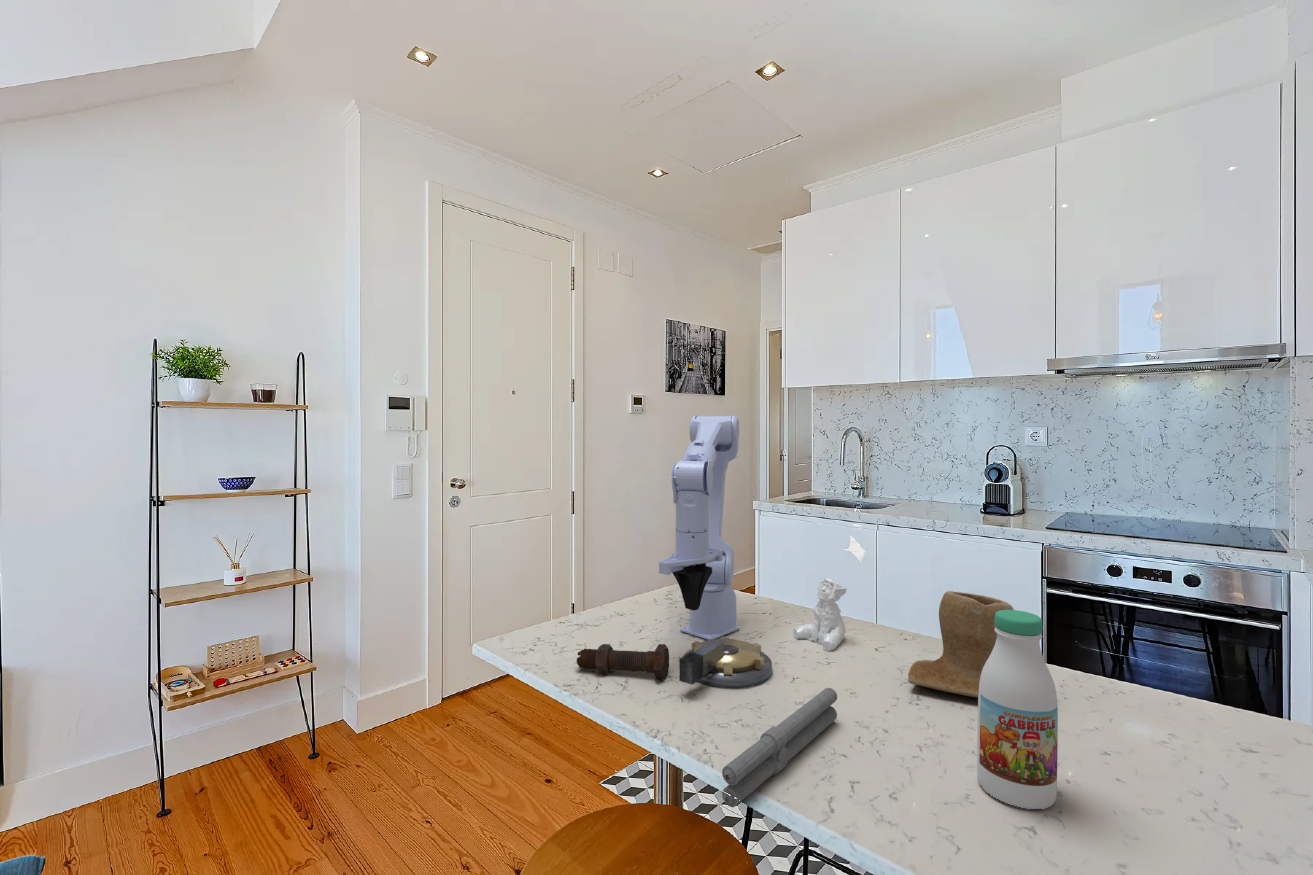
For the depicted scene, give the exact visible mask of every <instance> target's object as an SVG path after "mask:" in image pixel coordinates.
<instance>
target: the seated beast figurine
mask: <svg viewBox="0 0 1313 875" xmlns="http://www.w3.org/2000/svg"><path fill="white" fill-rule="evenodd" d="M846 593H847V587H842V585H841V584H840V583H839V581H835V579H832V578H829V577H825V578H823V579H822V580H821V582H820V583H819V586H818V588H817V596H818V599H819V600H818V601H817V603H816V606H815V607H814V608H813V609H812V613H813V615H814V618H813V620H814V622H813V623H808V624H800V625H798V626H797V627H793V629H792V633H793V637H794V638H795V639H796V640H807V641H811V642H813V643H818V645H820V646H822V648H823V651H825V652H832V651H835V650H836V648H837V647H838V646H840V644H841V643H842V640H844V638H845V633H846V632H847V630H846V625H845V623H844V620H843V618H842V616H841V612H842V611H841V609H840V607H839V605H838V604H837V603H836V602H838V601H840V599H841V597H843V596H844V595H845V594H846Z"/></svg>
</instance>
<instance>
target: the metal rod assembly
mask: <svg viewBox="0 0 1313 875" xmlns="http://www.w3.org/2000/svg"><path fill="white" fill-rule="evenodd" d="M837 700H838V693H837V692H836V691H835V690H834V688H831V687H826V688H824V689H823V690H822V691H820V692H819V693H818V694H817V695H816V694H815V696H814V697H813V698H811V699H810V700H808V702H806V703H804V704H803V705H802V706H801V707H800V708H798V709H797V710H795V711H794V712H793V713H791V714H790V715H788V717H786V718H785V719H783V721H781V722H780V723H779V724H777V725H776V726H774V725H773V726H772V727H770V728H768V729H767V730H766V731H764V732H763V733H762V734H761V736H760V738H759V740H757V741H756V742H755V743H754V744H752V745H751V746H750V747H748V748H747V749H746V750H745V751H743V752H742V753H741V754H739V755H738V756H736V757H735V758H734V759H733V760H731V761H730V762H728V763H727V764H726V765H725V766H724V767H723V768H722V769H721V770H722V771H721V776H722V778H723V780H724V781H725V782H726V784H727V785H726V787H725V788H723V789H722V791H724V792H726V793H728V794H730V795H731V796H729V795H728V794H726V793H724V792H721V797H722V800H723V801H724V804H725V805H727V806H728V807H730V808H735V807H737V806H738V805H739V804H740V803H741V802H742V801H743V800H745V799H746V798H747V797H748V796H749V795H750V794H751V793H752V792H754V791H755V790H756V789H757V788H759V786H761V785H762V784H763V783H764V782H765V781H766V780H767V779H769V777H771V776H776V775H777V774H779V773H780V772H781V771H782V770H783V769H784V768H785V767H786V766H787V764H788V762H789V761H790V760H791V759H792V758H794V756H796V755H798V753H800V751H801V750H803V749H804V748H806V746H807V745H808V744H809V743H811V742H812V741H813V740H814V739H815V738H816V737H817V736H819V734H821V733H822V732H823V731H824V730H825V729H826V728H828V726H830V725H831V724H832V723H833V722H834V721H836V720H837V717H838V713H837V710H836V709H835V707H833V706H832V705H833V704H834V703H836V701H837ZM734 797H736V798H737V799H734ZM739 800H740V801H739Z"/></svg>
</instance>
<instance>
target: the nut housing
mask: <svg viewBox="0 0 1313 875" xmlns="http://www.w3.org/2000/svg"><path fill="white" fill-rule="evenodd" d="M690 652H692V648H691V649H690V650H688V651H686V652H685V653H684V654H683V656H685V655H687V654H688V653H690ZM683 656H682V657H683ZM760 657H764V667H763V668H762V669H756V668H754V669H751V670H748V671H744V672H734V673H733V675H724V673H723V672H717V671H712V670H711V671H710V672H708V673H707V674H705V675H704V676H703V678H701V679H700V680H699V681H697V682H696V683H698V684H700V685H703V686H707V687H712V688H717V689H725V690H726V689H729V690H730V689H731V690H732V689H734V690H735V689H746V688H747V689H748V688H752V687H756V686H759V685H762V684H763V683H764V684H765V683H766V682H767V681H768V680H770V679H771V677H772V675H773V662H772V659H771V657H769V655H768V654H765V653H764V652H763V651H761V654H760Z"/></svg>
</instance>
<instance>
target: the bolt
mask: <svg viewBox="0 0 1313 875" xmlns="http://www.w3.org/2000/svg"><path fill="white" fill-rule="evenodd" d="M577 656H578V657H576V664H577V666H578V668H580V669H584V670H585V669H587V670H588V669H589V670H596V673H597V674H598V675H603V676H604V675H605V676H607V675H609V674H611V672H612V671H617V672H618V671H622V672H637V673H639V672H640V673H647V674H654V678H655V681H657V682H658V681H660V682H664V681H665V680H666V679H667V678H668V675H669V669H670V650H669V647H668V646H667V645H666V643H664V644H663V643H658V645H657V646H656V648H655V650H647V651H641V650H640V651H638V650H620V649H619V650H616V649H613V647H612V645H611V644H609V643H603V644H600V645H599V646H598V647H597V649H596V648H583V649H581V650H580V651H578V652H577Z"/></svg>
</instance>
